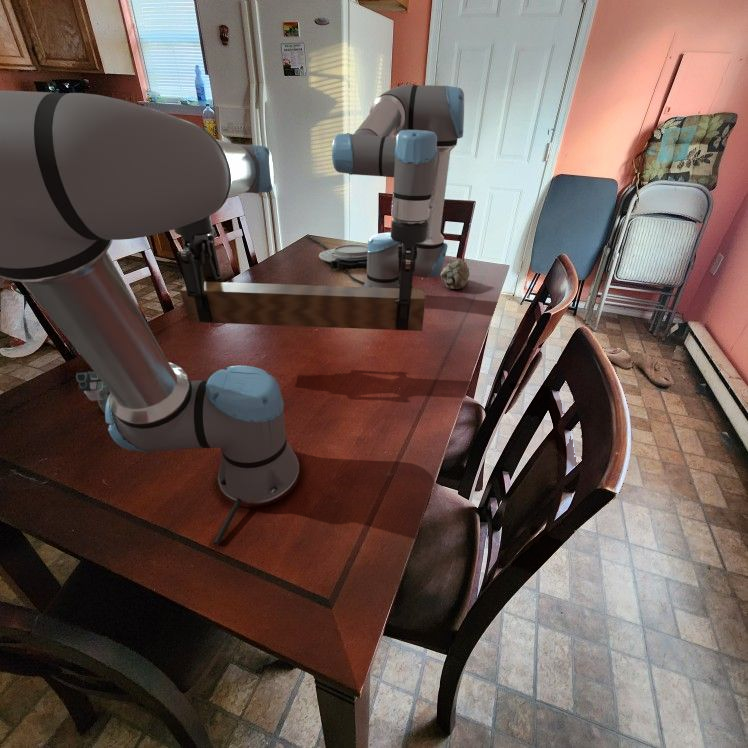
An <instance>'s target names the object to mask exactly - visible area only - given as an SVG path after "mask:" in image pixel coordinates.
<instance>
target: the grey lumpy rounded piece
mask: <svg viewBox="0 0 748 748" xmlns="http://www.w3.org/2000/svg"><path fill="white" fill-rule="evenodd" d="M439 277H440V280H441V281H442V282H443V283H444V285H445V287H446V288H447V289H449V290H459V289H463V288H464V287H465V286H466V284H467V282H468V280H469V277H470V269H469V267H468V264H467V262H466V261H465V260H464V259H463V258H457V259H455V261H453V262H449V263H447V264H446V266H445V267H444V268H442V270H441V273H440V275H439Z"/></svg>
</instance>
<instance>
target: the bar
mask: <svg viewBox="0 0 748 748" xmlns="http://www.w3.org/2000/svg"><path fill="white" fill-rule="evenodd" d="M204 291H205V294H207V297H208V301H209V306H210V311H211V316H212V322H199V317H198V312H197V308H196V303H195V299H194V297H188V295H187V290H186V286H183V287H182V288H181V289H180V290H179V292H180V295H181V299H182V303H183V307H184V311H185V315H186V319H187V322H188V323H204V324H206V323H207V324H229V325H255V326H256V325H257V326H279V327H280V326H281V327H282V326H283V327H304V328H305V327H308V328H309V327H310V328H331V329H332V328H334V329H335V328H336V329H357V330H358V329H360V330H385V331H387V330H389V331H400V330H399V329H396V318H397V304H395V301H398V299H399V288H372V287H364V286H342V285H341V286H340V285H316V284H315V285H313V284H307V285H306V284H288V283H287V284H286V283H285V284H284V283H256V282H232V281H231V282H227V281H221V282H206V281H204ZM425 307H426V294H425V289H424V288H412V291H411V305H410V310H409V321H408V330H407V331H412V332H413V331H414V332H422V331H423V329H424V317H425Z"/></svg>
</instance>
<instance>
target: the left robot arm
mask: <svg viewBox="0 0 748 748" xmlns="http://www.w3.org/2000/svg"><path fill="white" fill-rule="evenodd" d="M273 189H274V164H273V156H272V153H271V150H270V149H269V147H267V146H266V145H256V144H253V143H249V144H239V143H233V142H229V141H225V140H221V139H218V138H217V139H216V138H215V137H214V136H213V135H212V134H211V133H210V132H209V131H207V130H206V129H205V128H203V127H202V126H201V125H198V124H196V123H194V122H191V121H188V120H186V119H182V118H180V117H178V116H174V115H171V114H169V113H165V112H162V111H159V110H156V109H155V108H150V107H146V106H143V105H140V104H137V103H134V102H132V101H131V102H130V101H127V100H124V99H119V98H115V97H111V96H105V95H101V94H94V93H93V94H92V93H86V92H85V93H84V92H69V93H66V92H65V93H64V92H63V93H61V92H60V93H59V92H49V91H47V92H46V91H28V90H27V91H26V90H25V91H23V90H2V89H0V278H1V279H4V280H8V281H12V282H19V283H22V284H23V285H24V287H25V288H26V289H27V290H28V292H29V293H30V294H31V295H32V297H33V298H34V299H35V300H36V301H37V303H38V304H39V306H40V307H41V308H42V309H43V310H44V311H45V313H46V314H47V315H48V316H49V317H50V319H51V320H52V321H53V322H54V324H55V325H56V326H57V327H58V329H59V330H60V331H61V332H62V334H63V335H64V336H65V337H66V338H67V340H68V341H69V342H70V343H71V345H72V346H73V347H74V348H75V349H76V351H77V353H79V355H80V356H81V357H82V358H83V360H84V361H85V362H86V364H88V366H89V367H90V368H91V369H92V370H93V372H95V373H96V374H97V375H98V377H99V378H100V379H101V380H102V382H103V383H104V384H105V385H106V386H107V388H108V389H109V390H110V391H111V392H109V393H108V399H107V402H106V407H105V413H104V418H105V419H104V420H105V423H106V424H108V428H107V431H108V433H109V435H110V437H111V439H112V440H113V441H114V442H115V443H116V445H118V446H119V447H121V448H122V449H124V450H127V451H132V452H142V453H152V452H158V451H159V452H160V451H175V450H176V451H177V450H194V449H195V450H197V449H217V448H218V449H219V448H220V450H221V454H222V455H221V459H220V464H219V468H218V473H217V482H218V486H219V489H220V492H221V494H222V496H223V497H224V499H225V500H226V501H228V502H229V503H231V504H233V507H232V508H231V510H230V512H229V513H228V515H227V518H225V521H224V522H223V525H222V526H221V528H220V531H218V534H217V536H216V538H215V540H214V542H213V544H214V545H215V546H219V544H220V543H221V542H222V539H223V537H224V535H225V533H226V531H227V529H228V528H229V526H230V524H231V522H232V520H233V518H234V516H235V514H236V512H237V511H238V509H239V508H240V507H241V508H246V509H258V508H259V509H260V508H265V507H268V506H271V505H274V504H275V503H277V502H280V501H281V500H283V499H284V498H286V497H287V496H289V494H290V493H291V492H292V491H293V490H294V489H295V487H296V486H297V484H298V482H299V478H300V474H301V473H300V462H299V459H298V456H297V454H296V453H295V451H294V449H292V447H291V444H289V442H288V439H287V431H286V422H285V412H284V407H285V402H284V400H283V399H284V398H283V396H282V392H281V387H280V384H279V382H278V380H277V379H276V378H275V377H274V376H273V375H271V374H270V373H269V372H268V371H266V370H264V369H263V368H259V367H257V366H251V365H232V366H227V367H226V369H223V368H220V369H219V370H217V371H215V372H213V373H212V374H211V375H210V377H209V378H208V379H206V380H190V379H189V376H188V375H187V373H186V371H184V369H183V368H182V367H181V366H179V365H177V364H175V363H172V362H169V361H168V359H167V357H166V355H165V353H164V352H163V350H162V348H161V346H160V344H159V342H158V341H157V339H156V337H155V335H154V334H153V332H152V330H151V329H150V326H149V324H148V323H147V321H146V319H145V318H144V317H145V316H144V315H143V314H142V311H141V310H140V308H139V306H138V305H137V303H136V301H135V299H134V298H133V295H132V293H131V292H130V290H129V288H128V286H127V284H126V282H125V281H124V279H123V277H122V275H121V273H120V272H119V270H118V268H117V266H116V264H115V262H114V260H113V259H112V257H111V255H110V253H109V251H108V250H109V249H110V247H111V245H112V244H113V241H116V240H117V241H122V240H134V239H139V238H146V237H151V236H155V235H158V234H163V233H167V232H170V231H174V233H175V234H176V235H179V236H181V237H182V246H183V249H182V250H177V257H178V259H179V262H180V266H181V271H182V276H183V281H184V285H185V286H186V290H187V295H188V297H194V299H195V303H196V308H197V312H198V317H199V322H198V323H200V322H212V316H211V311H210V306H209V301H208V297H207V294H205V291H204V282H222V278H221V271H220V266H219V260H218V255H217V250H216V245H215V235H214V234H210V233H212V231H213V230H214V228H213V222H212V217H211V215H213V214H216V213H217V212H218V211H219V210H220V209H221V208H222V207H223V206H224V205H225V203H226V201H227V200H228V199H231V198H234V197H236V196H239V195H241V194H245V193H246V194H247V193H248V194H261V193H262V194H263V193H264V194H265V193H270V192H272V191H273ZM204 279H205V280H204Z"/></svg>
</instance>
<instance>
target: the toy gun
mask: <svg viewBox="0 0 748 748" xmlns="http://www.w3.org/2000/svg"><path fill="white" fill-rule="evenodd" d="M75 380H76V383H77V384H78V390H79V392H83V394H85V395H86V397H87V398H88V400H89V401H91V402H95V401H97V402H98V405H99V407H100V410H101V411H102V413H104V414H105V407H106V402H107V399H108V397H109V393H110V392H111V391H110V390H109V389H108V388H107V386H106V385H105V384H104V383H103V382H102V380H101V379H100V378H99V377H98V375H97V374H96V373H95V372H94V371H83V372H81V371H79V372H76V374H75Z"/></svg>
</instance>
